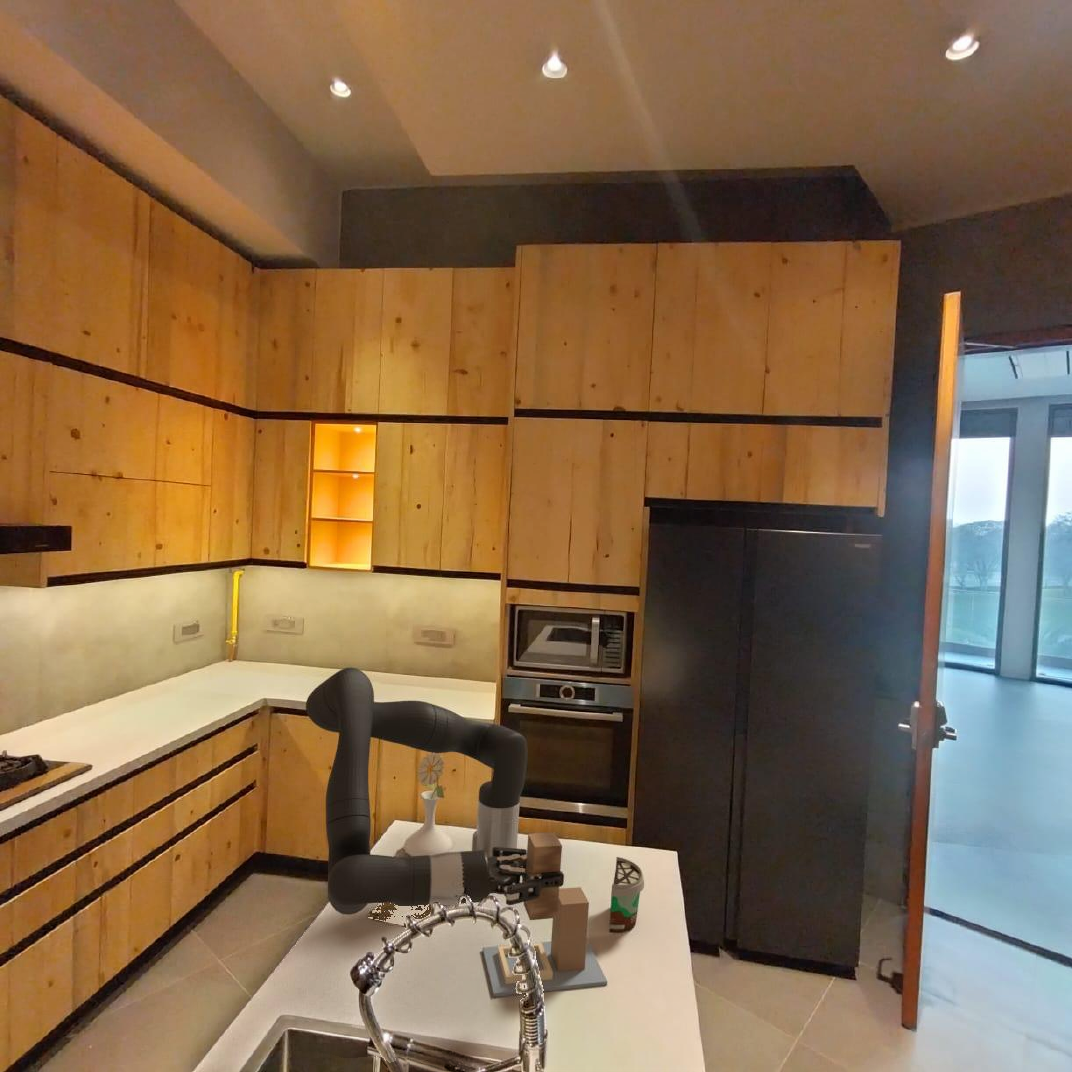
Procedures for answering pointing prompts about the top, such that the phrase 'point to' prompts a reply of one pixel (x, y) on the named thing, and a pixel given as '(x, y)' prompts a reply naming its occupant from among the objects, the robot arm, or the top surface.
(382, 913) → the cookie
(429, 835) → the flower in vase
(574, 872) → the top surface
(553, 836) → the walnut pillar
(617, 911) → the food container
